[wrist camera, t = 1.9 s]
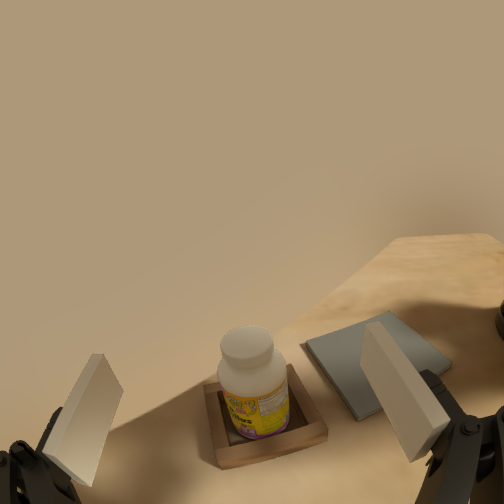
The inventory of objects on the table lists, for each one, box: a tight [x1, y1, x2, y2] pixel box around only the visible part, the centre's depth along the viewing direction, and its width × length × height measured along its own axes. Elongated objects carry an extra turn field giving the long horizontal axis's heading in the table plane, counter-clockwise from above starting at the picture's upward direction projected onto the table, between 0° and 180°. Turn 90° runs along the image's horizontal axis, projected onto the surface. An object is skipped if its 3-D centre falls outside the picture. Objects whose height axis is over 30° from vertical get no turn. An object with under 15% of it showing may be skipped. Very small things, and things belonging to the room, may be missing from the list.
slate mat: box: [306, 311, 452, 421], centre depth 34 cm, size 16×16×1 cm
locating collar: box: [203, 364, 328, 470], centre depth 27 cm, size 12×12×2 cm
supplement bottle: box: [217, 325, 290, 440], centre depth 26 cm, size 7×7×13 cm
